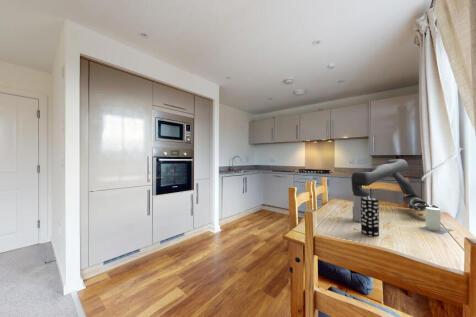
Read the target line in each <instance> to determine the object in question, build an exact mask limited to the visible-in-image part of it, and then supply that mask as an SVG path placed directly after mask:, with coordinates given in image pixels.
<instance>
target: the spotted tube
mask: <svg viewBox="0 0 476 317" xmlns="http://www.w3.org/2000/svg"><path fill="white" fill-rule="evenodd" d="M379 202H380V201H379V198H376V197H370V196H369V197H361V222H360V227H361V228H360V229H361V230H360V233H361V234H362V235H364V236H368V237H372V238H373V237H375V238H376V237H379V236H380V216H379V215H380V209H379V208H380V207H379V204H380V203H379Z"/></svg>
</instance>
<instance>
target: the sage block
mask: <svg viewBox="0 0 476 317" xmlns="http://www.w3.org/2000/svg"><path fill="white" fill-rule="evenodd" d="M425 226H426V227H427V228H428V229H429V230H437V231H441V227H442V226H441V209H439V207H438V208H431V207H426V210H425Z"/></svg>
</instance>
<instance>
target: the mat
mask: <svg viewBox="0 0 476 317" xmlns="http://www.w3.org/2000/svg"><path fill="white" fill-rule="evenodd" d="M419 229H421V230H424V231H428V232H431V233H436V234H439V235H443V234H446V233H450V232H452V231H454V229H451V228H447V227H443V226H441V231H437V230H429V229H428V228H427V227H426V225H425V226H421V227H419Z"/></svg>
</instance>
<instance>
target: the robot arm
mask: <svg viewBox="0 0 476 317" xmlns="http://www.w3.org/2000/svg"><path fill="white" fill-rule="evenodd" d="M407 169H408V162H407V161H406V160H405V159H401V158H399V159H396V158H395V159H389V160H387V162H386V163H385V164H384V163H383V164H379V165H377V166H375V167H373V168H372V169H371V171H368V172H367V171H365V172H363V171H354V172H353V173H352V175H351V190H352V193H353V194H352V200H353V201H352V203H353V204H352V205H353V206H352V221H355V222H358V223H361V197H370V191H369V190H366V189H364V187H369V186H371V185H372V184H374V183H376V182H377V181H380V180H382V179H385V178H388V177H389V176H392V177H393V178H394V180H395V181H396V183H397V184H398V186H399V188H400V190H401V193H402V194H403V195H404V196H403V197H402V201H403V203H405V204H406V205H407V207H408V209H409V210H412V209H413V210H415V211H419V212H423V211H426V207H431V208H438V209H439V207H438V206H437V205H430V204H427V202H426V201H424V199H422V198H421V197H420V195H418V194H417V192H416V191H415V190H414V188H413V185H412V184H411V182H410V180H408V179H407V178H406V177H404V176H402V174H400V172H401V173H402V172H404V171H406V170H407Z"/></svg>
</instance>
